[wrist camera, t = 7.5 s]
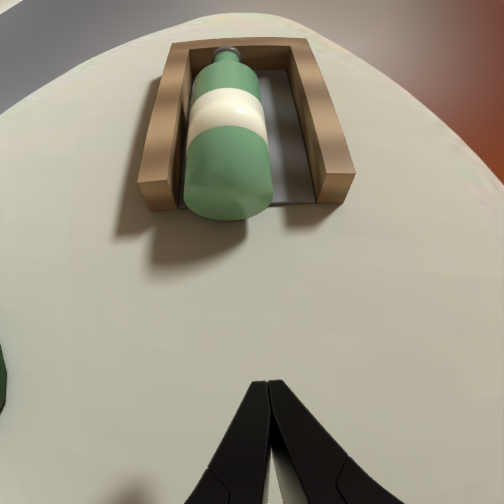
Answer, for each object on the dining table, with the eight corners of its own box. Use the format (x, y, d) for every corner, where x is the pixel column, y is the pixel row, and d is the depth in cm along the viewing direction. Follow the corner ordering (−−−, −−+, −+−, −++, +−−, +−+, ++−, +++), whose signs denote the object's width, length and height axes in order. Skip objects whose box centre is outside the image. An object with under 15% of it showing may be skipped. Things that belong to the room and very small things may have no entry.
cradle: (343, 202, 23) (355, 173, 19) (150, 211, 22) (137, 182, 19) (303, 64, 31) (306, 38, 27) (176, 68, 30) (172, 43, 27)
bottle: (171, 175, 17) (192, 38, 24) (194, 224, 22) (202, 82, 29) (273, 164, 16) (253, 30, 23) (275, 216, 21) (257, 76, 28)
